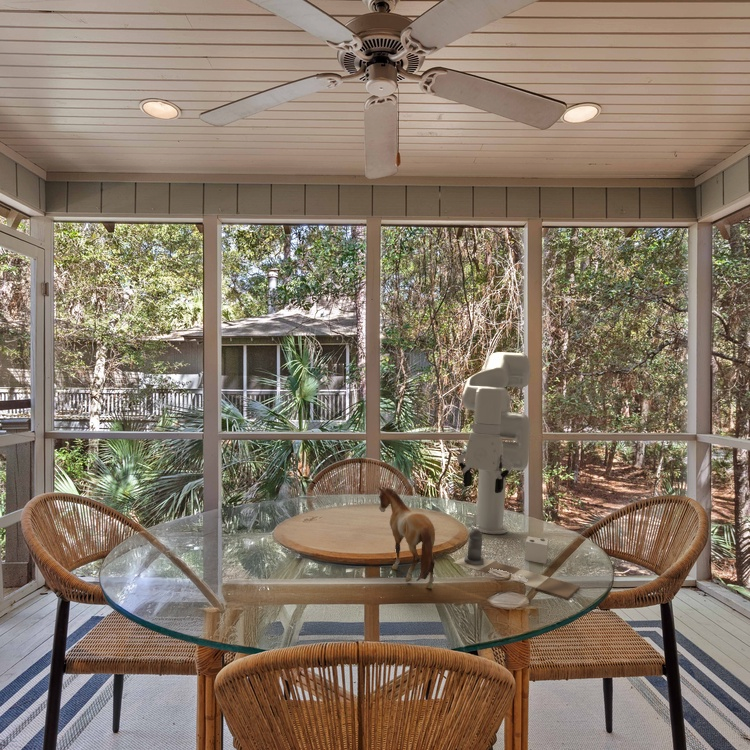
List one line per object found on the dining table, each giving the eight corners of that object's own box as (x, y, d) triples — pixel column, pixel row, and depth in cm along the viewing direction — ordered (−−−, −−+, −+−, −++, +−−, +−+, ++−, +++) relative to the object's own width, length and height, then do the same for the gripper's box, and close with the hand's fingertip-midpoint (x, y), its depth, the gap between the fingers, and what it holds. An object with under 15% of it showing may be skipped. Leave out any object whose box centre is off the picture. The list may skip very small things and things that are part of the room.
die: (524, 561, 154) (525, 541, 154) (526, 555, 160) (527, 535, 160) (545, 565, 152) (547, 544, 152) (547, 559, 157) (548, 539, 157)
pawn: (461, 561, 149) (463, 528, 149) (469, 557, 153) (471, 525, 153) (478, 566, 146) (480, 533, 146) (486, 562, 150) (488, 529, 150)
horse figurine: (372, 556, 151) (377, 485, 151) (397, 554, 153) (402, 484, 153) (418, 602, 122) (423, 515, 121) (447, 599, 124) (453, 513, 124)
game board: (452, 564, 148) (453, 562, 148) (469, 556, 156) (469, 554, 156) (567, 600, 128) (567, 597, 128) (579, 588, 136) (579, 585, 136)
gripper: (453, 427, 153) (449, 485, 152) (509, 433, 142) (505, 496, 142) (465, 426, 158) (462, 482, 158) (520, 432, 148) (516, 493, 148)
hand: (482, 489), depth 150 cm, fingers open, 9 cm apart
